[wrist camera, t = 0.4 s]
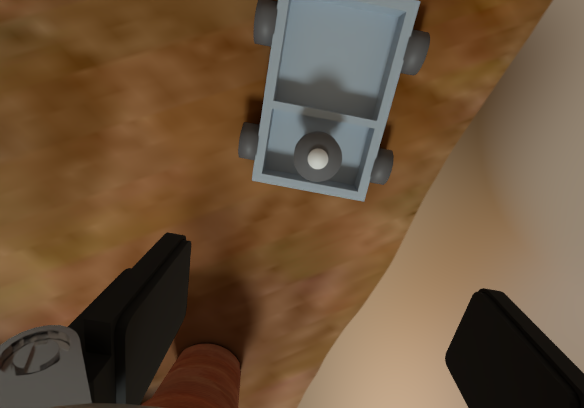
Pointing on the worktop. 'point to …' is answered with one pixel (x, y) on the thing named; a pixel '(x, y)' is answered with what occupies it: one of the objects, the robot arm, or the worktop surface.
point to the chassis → (331, 86)
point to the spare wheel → (317, 156)
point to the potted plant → (200, 380)
